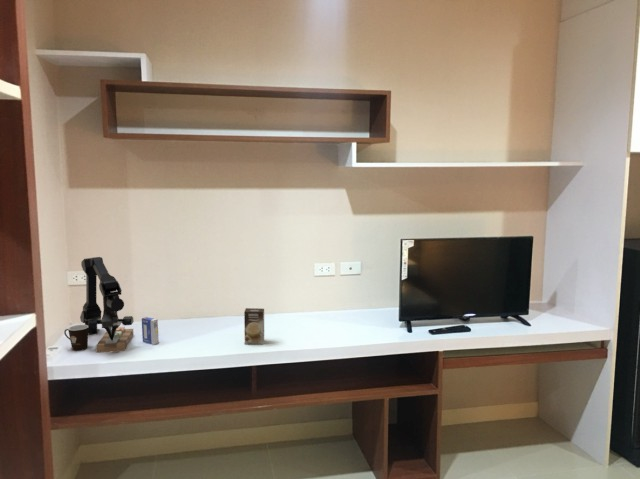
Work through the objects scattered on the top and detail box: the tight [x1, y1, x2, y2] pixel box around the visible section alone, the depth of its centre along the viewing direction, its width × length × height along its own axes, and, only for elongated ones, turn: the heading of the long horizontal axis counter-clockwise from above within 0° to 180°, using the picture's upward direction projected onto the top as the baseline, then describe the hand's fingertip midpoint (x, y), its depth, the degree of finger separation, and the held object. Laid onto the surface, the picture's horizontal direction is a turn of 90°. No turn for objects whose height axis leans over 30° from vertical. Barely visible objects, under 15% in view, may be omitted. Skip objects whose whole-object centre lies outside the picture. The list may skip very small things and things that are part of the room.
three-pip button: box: [109, 331, 122, 339], centre depth 244 cm, size 5×5×3 cm
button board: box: [95, 328, 135, 353], centre depth 245 cm, size 22×12×4 cm, turn 10°
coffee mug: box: [64, 324, 89, 352], centre depth 239 cm, size 12×9×10 cm
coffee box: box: [243, 307, 265, 346], centre depth 245 cm, size 9×6×16 cm
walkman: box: [141, 316, 160, 345], centre depth 246 cm, size 8×3×12 cm, turn 61°
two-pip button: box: [116, 326, 126, 333], centre depth 251 cm, size 5×5×3 cm
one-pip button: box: [106, 338, 119, 344], centre depth 238 cm, size 5×5×3 cm
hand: (112, 339), depth 237 cm, fingers closed, pressing on one-pip button
